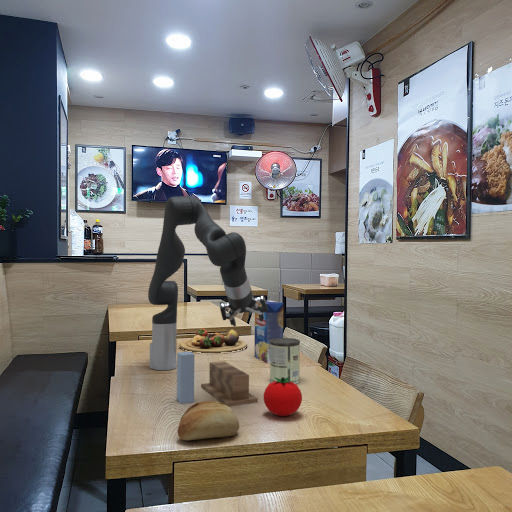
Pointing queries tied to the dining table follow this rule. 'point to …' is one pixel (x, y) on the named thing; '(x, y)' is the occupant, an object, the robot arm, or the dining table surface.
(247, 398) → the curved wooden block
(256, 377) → the dining table surface
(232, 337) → the wooden plate with food
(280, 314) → the juice carton
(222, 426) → the bread roll
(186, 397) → the blue gray rectangular block
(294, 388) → the tomato
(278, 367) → the coffee can
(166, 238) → the robot arm
